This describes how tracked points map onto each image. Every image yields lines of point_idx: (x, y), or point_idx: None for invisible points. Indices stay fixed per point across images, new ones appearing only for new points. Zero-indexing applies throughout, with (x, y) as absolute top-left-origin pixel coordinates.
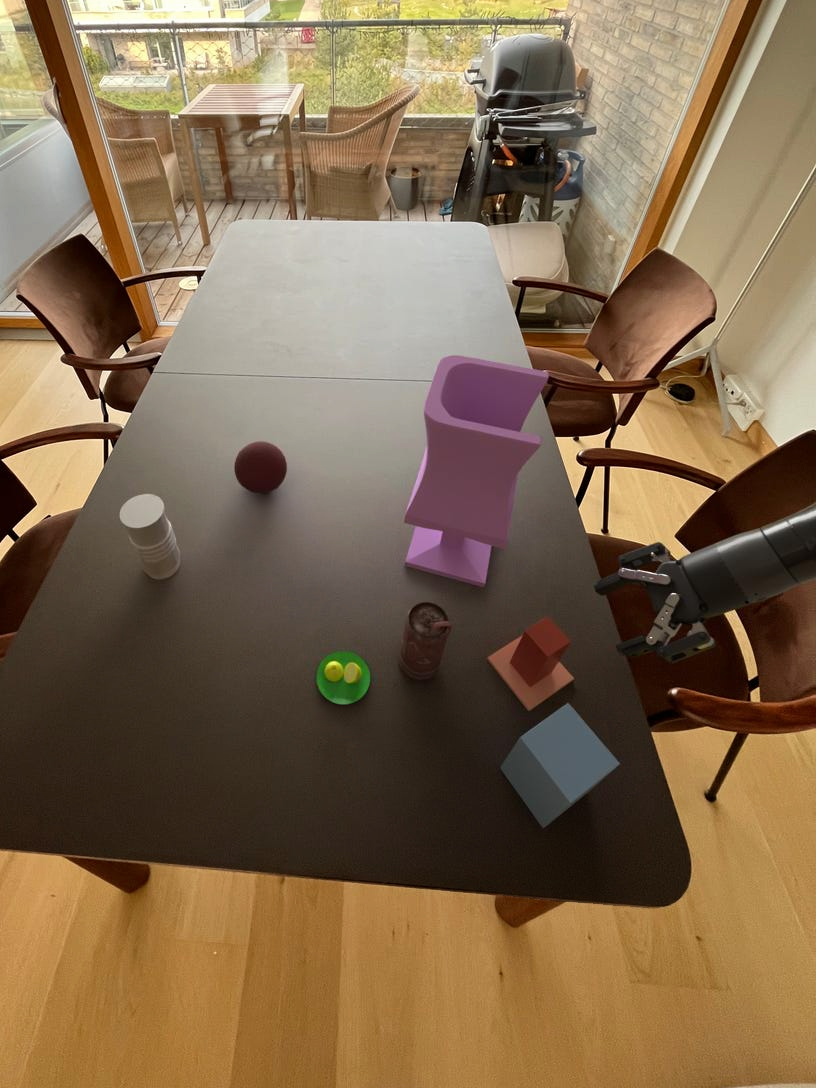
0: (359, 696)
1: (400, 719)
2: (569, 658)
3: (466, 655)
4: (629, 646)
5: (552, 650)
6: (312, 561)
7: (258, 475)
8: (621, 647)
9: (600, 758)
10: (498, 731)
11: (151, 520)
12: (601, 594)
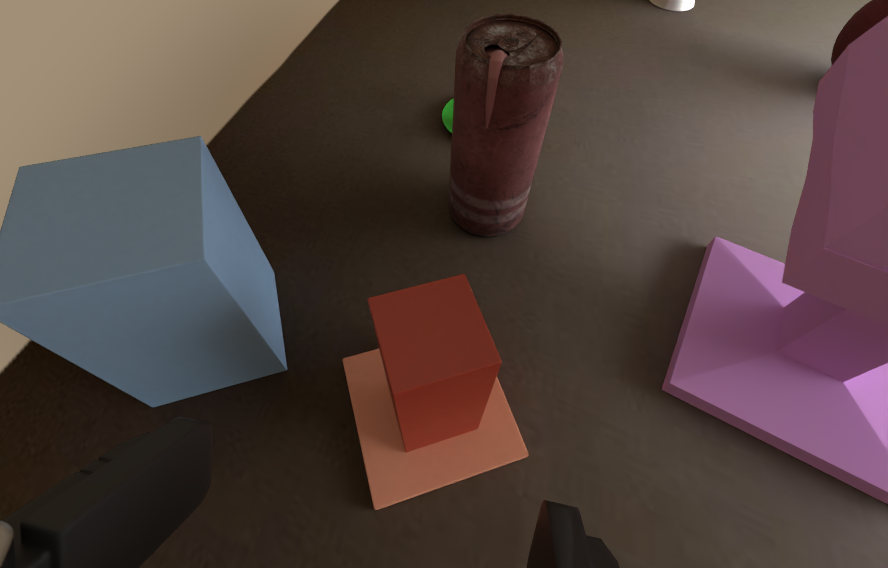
0: (449, 128)
1: (402, 168)
2: (434, 534)
3: (489, 291)
4: (128, 451)
5: (381, 319)
6: (696, 122)
7: (875, 11)
8: (172, 427)
9: (30, 266)
10: (331, 293)
11: None
12: (530, 562)
